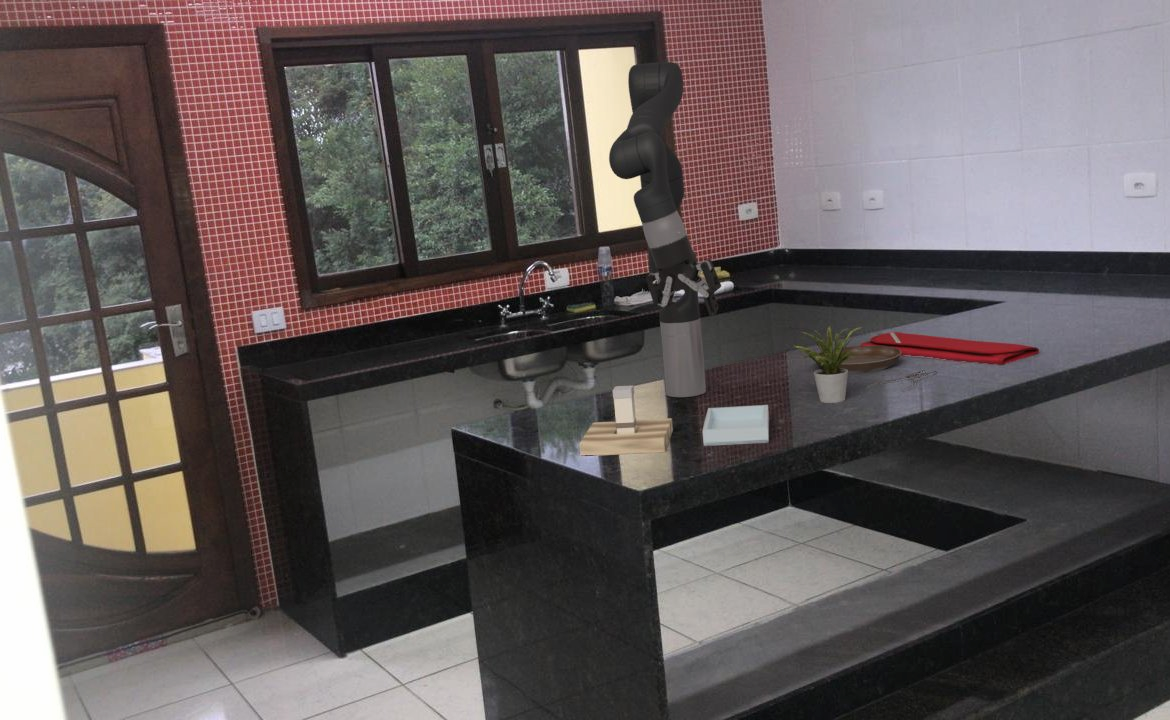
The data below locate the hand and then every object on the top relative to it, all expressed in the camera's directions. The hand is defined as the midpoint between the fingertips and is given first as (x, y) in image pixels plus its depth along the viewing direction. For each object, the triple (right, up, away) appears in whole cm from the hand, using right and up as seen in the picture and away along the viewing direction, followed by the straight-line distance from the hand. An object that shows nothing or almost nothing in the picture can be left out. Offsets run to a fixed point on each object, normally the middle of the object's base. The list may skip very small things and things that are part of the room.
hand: (695, 317), depth 205 cm
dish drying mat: (+68, -7, +59) cm, 90 cm away
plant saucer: (+45, -10, +53) cm, 71 cm away
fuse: (-13, -24, +2) cm, 28 cm away
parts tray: (+9, -22, +2) cm, 24 cm away
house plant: (+32, -17, +22) cm, 42 cm away
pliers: (+49, -13, +33) cm, 61 cm away
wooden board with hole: (-13, -24, +2) cm, 27 cm away
